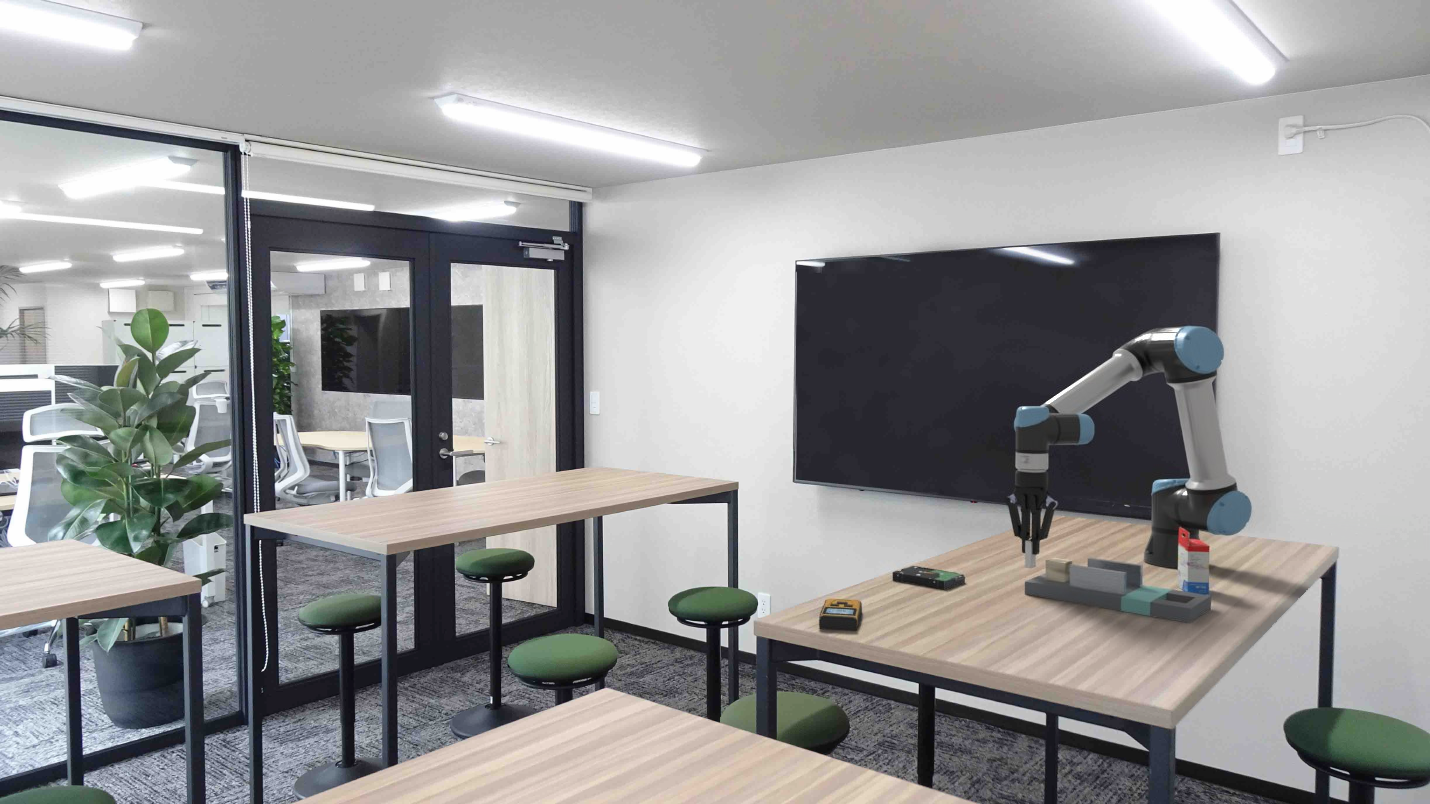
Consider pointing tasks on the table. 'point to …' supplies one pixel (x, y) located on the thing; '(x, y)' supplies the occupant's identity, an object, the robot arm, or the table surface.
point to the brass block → (1058, 569)
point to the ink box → (1193, 564)
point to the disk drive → (929, 577)
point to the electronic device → (840, 614)
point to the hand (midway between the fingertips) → (1030, 567)
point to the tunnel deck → (1120, 591)
